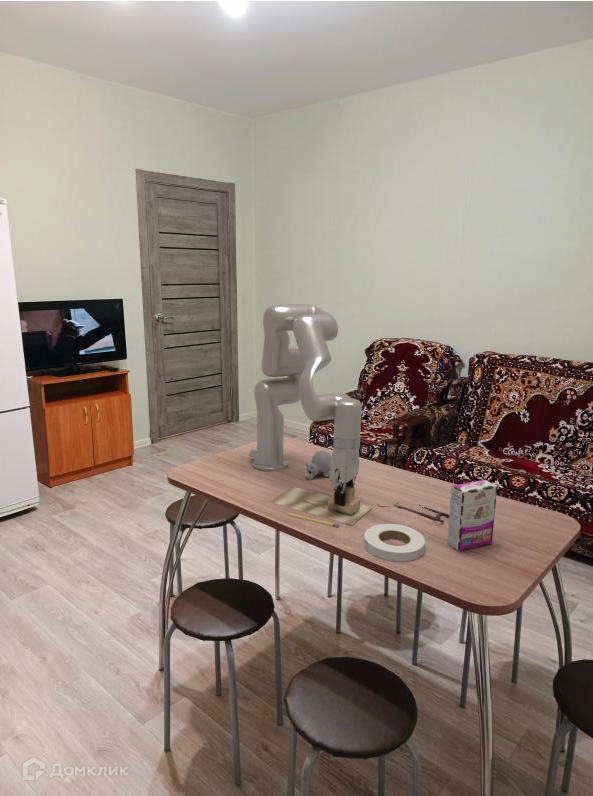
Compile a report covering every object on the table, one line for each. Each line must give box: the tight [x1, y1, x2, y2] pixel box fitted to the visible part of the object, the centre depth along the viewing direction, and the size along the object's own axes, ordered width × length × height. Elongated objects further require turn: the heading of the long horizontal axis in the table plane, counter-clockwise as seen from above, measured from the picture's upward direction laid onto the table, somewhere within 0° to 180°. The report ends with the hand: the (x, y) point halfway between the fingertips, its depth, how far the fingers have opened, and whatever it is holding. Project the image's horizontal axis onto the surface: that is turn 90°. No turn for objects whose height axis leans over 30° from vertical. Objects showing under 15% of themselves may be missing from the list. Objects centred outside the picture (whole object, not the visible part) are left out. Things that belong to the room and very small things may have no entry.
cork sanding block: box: [328, 484, 361, 515], centre depth 159 cm, size 8×5×6 cm, turn 58°
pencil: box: [287, 512, 340, 529], centre depth 153 cm, size 16×1×1 cm, turn 63°
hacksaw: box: [377, 501, 450, 525], centre depth 160 cm, size 24×10×2 cm, turn 43°
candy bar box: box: [447, 479, 498, 552], centre depth 140 cm, size 11×5×16 cm, turn 114°
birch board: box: [268, 486, 374, 527], centre depth 164 cm, size 28×14×1 cm, turn 58°
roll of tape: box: [363, 523, 426, 563], centre depth 140 cm, size 16×15×3 cm
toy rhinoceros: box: [304, 450, 332, 481], centre depth 186 cm, size 7×12×8 cm, turn 128°
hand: (344, 500), depth 159 cm, fingers closed on cork sanding block, 5 cm apart
